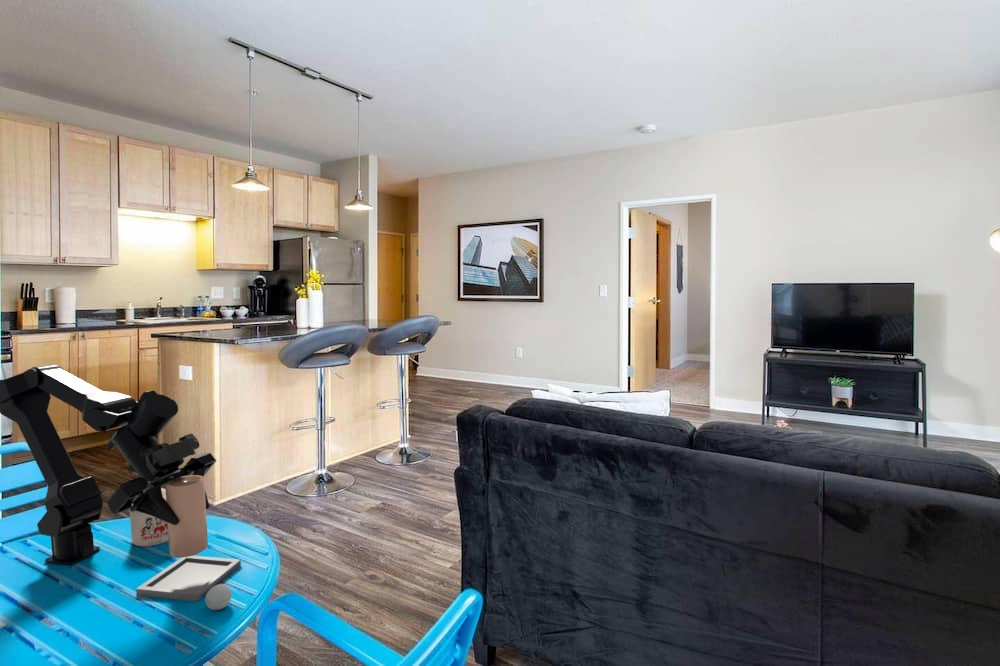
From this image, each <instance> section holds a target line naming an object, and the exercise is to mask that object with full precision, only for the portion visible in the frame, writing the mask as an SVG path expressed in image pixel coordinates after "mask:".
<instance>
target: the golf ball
mask: <svg viewBox="0 0 1000 666" xmlns="http://www.w3.org/2000/svg"><path fill="white" fill-rule="evenodd" d="M232 593H233V592H232V590H231V588H230V587H229V586H228V585H227V584H223V583H219V584H218V585H215V586H213V587H212V588H211V589H210V590H209V591H208V593H207V594H206V595H205V600H204V601H205V604H206V606H207V607H208V608H209V609H210V610H213V611H218V610H219V611H220V610H222V609H225V608H226V607H227V605H229V604H230V601H232V596H233V595H232Z"/></svg>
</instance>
